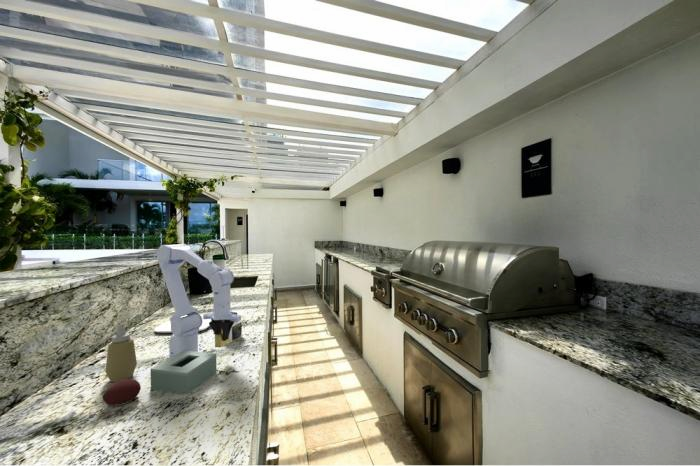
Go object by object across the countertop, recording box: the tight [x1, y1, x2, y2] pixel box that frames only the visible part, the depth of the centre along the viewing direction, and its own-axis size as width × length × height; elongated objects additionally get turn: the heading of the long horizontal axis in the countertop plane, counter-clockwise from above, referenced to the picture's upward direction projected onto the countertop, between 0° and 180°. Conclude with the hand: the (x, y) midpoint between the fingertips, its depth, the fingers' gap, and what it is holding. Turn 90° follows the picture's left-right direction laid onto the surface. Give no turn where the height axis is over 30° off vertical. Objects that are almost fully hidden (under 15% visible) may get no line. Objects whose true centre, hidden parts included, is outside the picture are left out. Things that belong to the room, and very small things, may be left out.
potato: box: [102, 378, 141, 406], centre depth 78 cm, size 7×8×6 cm
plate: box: [153, 314, 211, 334], centre depth 140 cm, size 25×25×2 cm
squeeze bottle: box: [105, 323, 138, 383], centre depth 91 cm, size 8×8×18 cm
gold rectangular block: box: [214, 331, 231, 349], centre depth 101 cm, size 2×5×4 cm, turn 168°
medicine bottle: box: [223, 310, 243, 343], centre depth 123 cm, size 7×7×12 cm
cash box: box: [150, 350, 218, 395], centre depth 89 cm, size 13×13×6 cm
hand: (222, 339), depth 101 cm, fingers closed on gold rectangular block, 2 cm apart
